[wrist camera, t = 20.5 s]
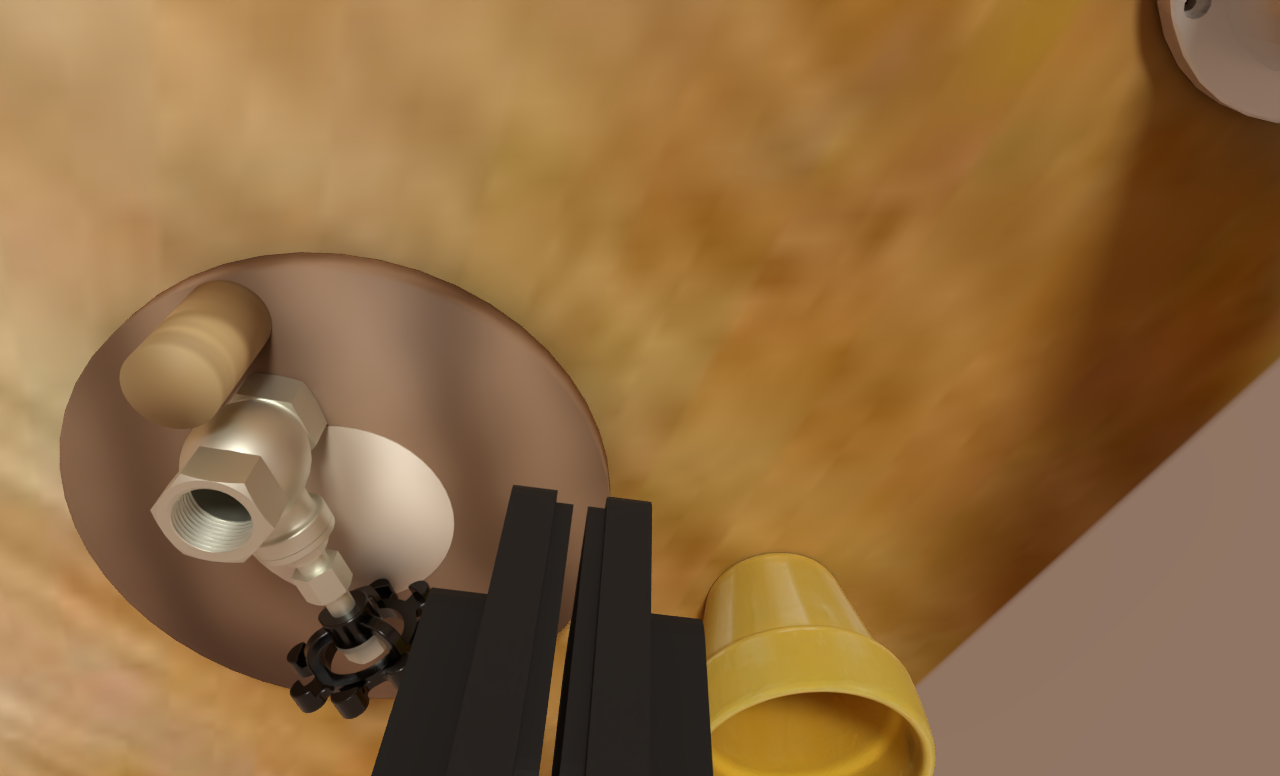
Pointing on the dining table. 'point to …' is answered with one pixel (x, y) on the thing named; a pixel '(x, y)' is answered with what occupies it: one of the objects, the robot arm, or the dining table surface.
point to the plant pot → (804, 680)
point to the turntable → (325, 442)
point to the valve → (286, 535)
